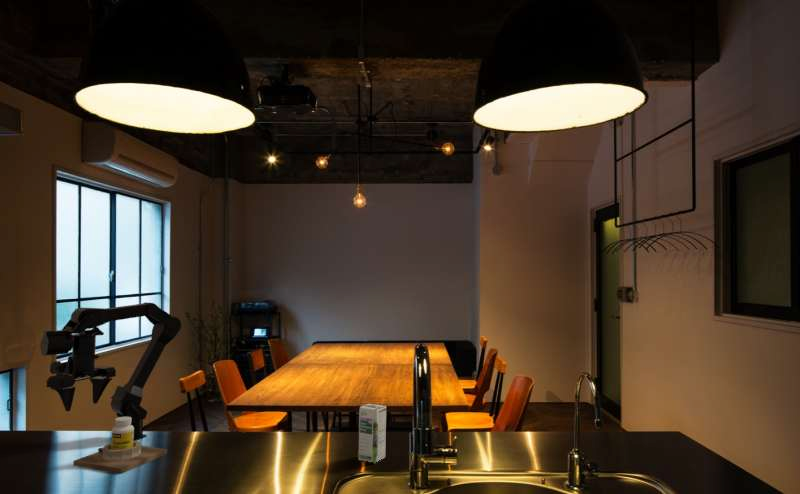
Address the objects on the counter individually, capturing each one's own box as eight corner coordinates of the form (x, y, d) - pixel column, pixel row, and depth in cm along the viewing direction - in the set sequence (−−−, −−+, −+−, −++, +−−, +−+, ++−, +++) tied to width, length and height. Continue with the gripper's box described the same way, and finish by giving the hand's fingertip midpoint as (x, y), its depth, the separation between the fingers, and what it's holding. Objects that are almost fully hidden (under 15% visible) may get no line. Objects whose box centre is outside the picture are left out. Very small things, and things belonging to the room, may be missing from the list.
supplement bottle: (108, 459, 146) (109, 421, 146) (113, 452, 151) (114, 416, 151) (130, 457, 147) (132, 420, 147) (134, 450, 152) (136, 415, 153)
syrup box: (357, 460, 151) (358, 406, 151) (368, 454, 156) (369, 402, 156) (375, 464, 148) (376, 409, 148) (386, 457, 153) (387, 405, 154)
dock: (121, 447, 159) (122, 434, 159) (166, 453, 154) (167, 440, 154) (72, 465, 144) (73, 451, 144) (120, 473, 139) (121, 458, 139)
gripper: (88, 346, 168) (86, 397, 168) (32, 355, 150) (29, 412, 150) (117, 348, 165) (116, 400, 164) (63, 357, 147) (61, 416, 147)
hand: (81, 407), depth 156 cm, fingers open, 9 cm apart
